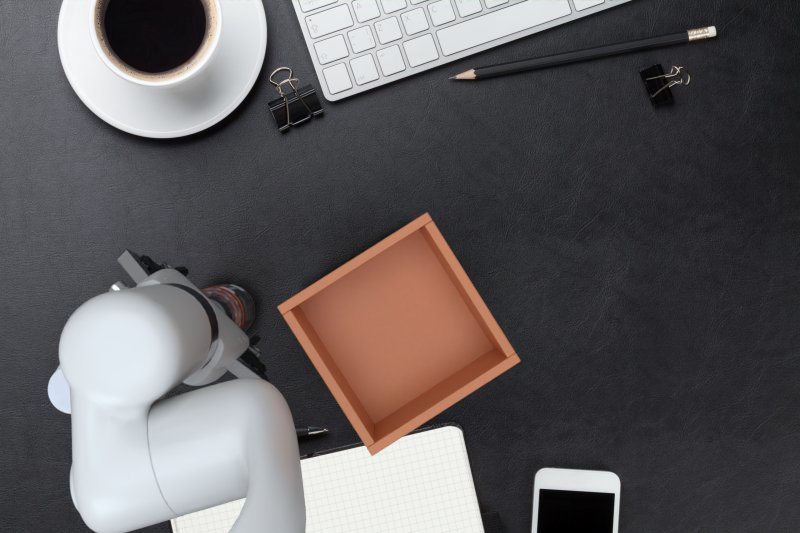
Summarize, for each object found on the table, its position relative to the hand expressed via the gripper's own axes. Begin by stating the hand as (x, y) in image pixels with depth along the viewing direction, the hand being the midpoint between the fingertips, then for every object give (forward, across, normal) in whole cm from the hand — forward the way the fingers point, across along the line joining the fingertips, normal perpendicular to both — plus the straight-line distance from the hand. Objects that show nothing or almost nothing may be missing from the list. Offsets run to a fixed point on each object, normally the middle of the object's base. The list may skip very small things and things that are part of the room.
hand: (212, 314), depth 75 cm
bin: (-16, +12, +12) cm, 24 cm away
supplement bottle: (+8, 0, 0) cm, 9 cm away
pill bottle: (+8, -4, -14) cm, 16 cm away
